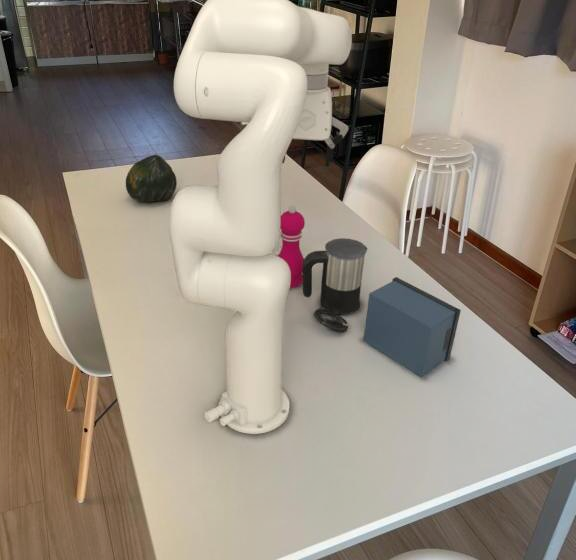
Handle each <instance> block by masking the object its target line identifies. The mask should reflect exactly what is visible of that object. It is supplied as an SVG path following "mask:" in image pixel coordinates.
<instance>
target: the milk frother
mask: <svg viewBox="0 0 576 560" xmlns="http://www.w3.org/2000/svg"><path fill="white" fill-rule="evenodd" d="M324 248H325V250H315V251H311V252H309V253H308V254H306V256H305V257H303V258H304V260H303V266H302V267H303V273H302V275H303V278H302V293H303V294H302V295H303V296H304V297H306V298H310V297H311V296H312V295H313V294H312V293H313V267H314V266H315V265H316V264H322V275H321V286H320V301H319V302H320V306H321V307H322V308H317V309H315V310H314V312H313V317H314V318H315V319H316V321H317V322H319V323H320V325H322V326H324V327H325V328H327V329H329V330H331V331H333V332H339V333H344V332H346V331H347V330H348V328H349V324H348V322H347V320H346V318H344V317H342V316H340V315H350V314H353V313H355V312H357V311H358V310H359V309H360V307H361V301H360V300H361V288H362V280H363V272H364V265H365V257H366V254H367V252H368V247H367V246H366V245H365V244H364V243H363V242H362V241H359V240H356V239H352V238H345V237H343V238H342V237H340V238H334V239H331V240H329V241H327V242H326V243H325V245H324ZM322 315H325V316H329V317H332V318H330V319H329V318H324V317H323V316H322Z"/></svg>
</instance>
